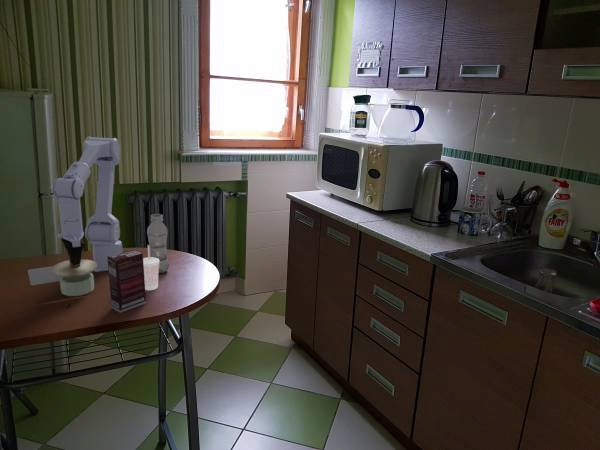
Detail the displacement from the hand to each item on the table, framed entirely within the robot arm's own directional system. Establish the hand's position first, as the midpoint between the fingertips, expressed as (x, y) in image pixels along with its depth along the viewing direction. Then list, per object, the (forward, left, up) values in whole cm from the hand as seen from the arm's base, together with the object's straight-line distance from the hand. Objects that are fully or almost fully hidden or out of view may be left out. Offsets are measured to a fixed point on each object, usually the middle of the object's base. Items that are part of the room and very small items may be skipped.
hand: (75, 262), depth 141 cm
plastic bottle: (-26, -4, -10) cm, 28 cm away
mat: (+5, -16, -9) cm, 19 cm away
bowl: (0, 0, -9) cm, 9 cm away
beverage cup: (-20, +7, -10) cm, 23 cm away
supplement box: (-11, +17, -10) cm, 22 cm away
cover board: (0, 0, -2) cm, 2 cm away
